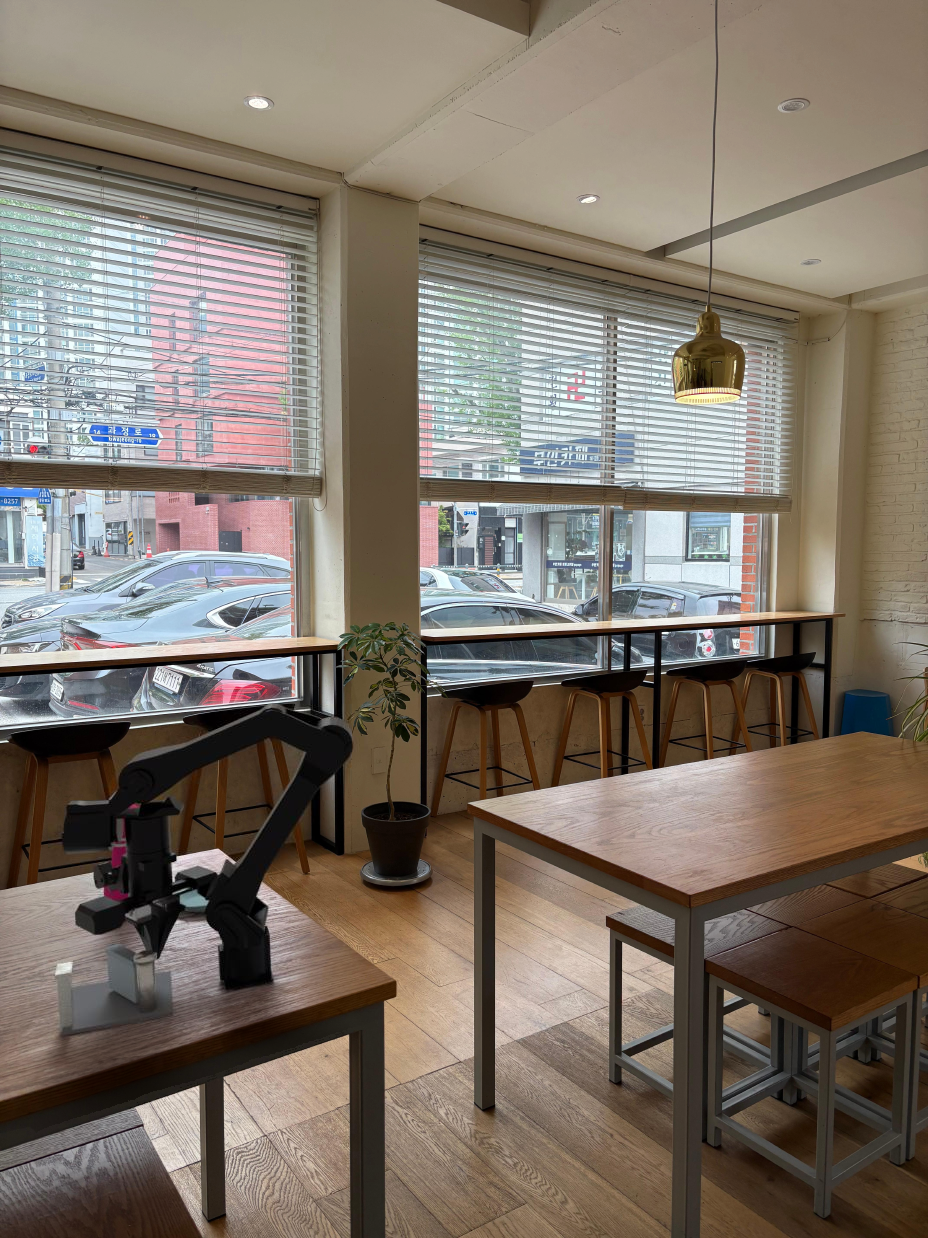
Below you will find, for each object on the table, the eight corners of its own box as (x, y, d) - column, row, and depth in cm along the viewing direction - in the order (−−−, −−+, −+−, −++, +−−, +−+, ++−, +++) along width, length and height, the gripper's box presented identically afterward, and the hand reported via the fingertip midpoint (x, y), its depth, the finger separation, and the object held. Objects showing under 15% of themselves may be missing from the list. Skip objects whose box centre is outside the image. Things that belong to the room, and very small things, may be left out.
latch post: (76, 1019, 114) (73, 961, 113) (74, 1032, 111) (70, 972, 110) (60, 1022, 113) (57, 964, 112) (58, 1035, 110) (54, 975, 109)
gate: (147, 998, 117) (145, 957, 116) (134, 1004, 115) (132, 962, 115) (120, 983, 121) (118, 943, 121) (107, 988, 120) (105, 948, 119)
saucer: (170, 924, 143) (169, 910, 143) (165, 898, 154) (164, 885, 154) (245, 912, 148) (244, 898, 147) (235, 887, 158) (235, 875, 158)
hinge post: (159, 1005, 117) (156, 949, 116) (159, 1015, 114) (156, 958, 113) (136, 1009, 116) (133, 952, 115) (136, 1020, 113) (133, 961, 113)
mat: (170, 974, 125) (170, 971, 125) (172, 1015, 114) (172, 1011, 114) (69, 991, 121) (69, 988, 121) (61, 1036, 110) (61, 1032, 110)
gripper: (177, 820, 133) (182, 922, 134) (52, 854, 119) (59, 968, 120) (220, 834, 126) (226, 941, 127) (93, 872, 112) (100, 993, 113)
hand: (154, 959), depth 122 cm, fingers closed
